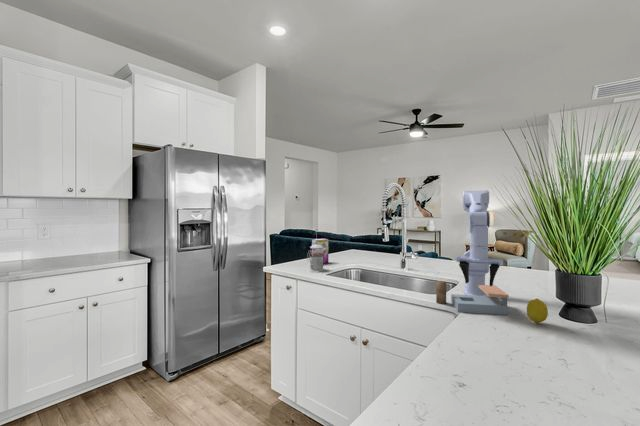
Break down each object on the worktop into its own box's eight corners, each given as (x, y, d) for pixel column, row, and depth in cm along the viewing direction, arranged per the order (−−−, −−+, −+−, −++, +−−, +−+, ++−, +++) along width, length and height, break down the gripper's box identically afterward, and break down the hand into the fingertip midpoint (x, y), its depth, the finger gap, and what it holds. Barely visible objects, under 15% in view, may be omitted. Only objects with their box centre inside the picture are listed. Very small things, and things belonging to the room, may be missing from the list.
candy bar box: (316, 265, 202) (316, 240, 202) (311, 264, 206) (311, 239, 206) (329, 263, 210) (328, 238, 209) (324, 262, 214) (324, 238, 213)
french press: (328, 269, 187) (328, 228, 186) (314, 272, 179) (313, 229, 178) (317, 267, 194) (316, 227, 193) (302, 270, 186) (302, 228, 185)
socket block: (451, 301, 122) (451, 283, 122) (495, 303, 119) (495, 285, 119) (458, 312, 109) (458, 292, 109) (508, 315, 106) (508, 294, 106)
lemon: (551, 327, 95) (551, 301, 95) (531, 326, 96) (531, 300, 96) (542, 321, 100) (542, 296, 100) (523, 319, 102) (523, 295, 101)
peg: (435, 301, 123) (435, 280, 123) (445, 301, 122) (445, 281, 122) (437, 303, 119) (437, 283, 119) (447, 304, 118) (447, 283, 118)
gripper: (454, 245, 110) (454, 283, 110) (501, 248, 101) (501, 289, 102) (459, 243, 116) (459, 279, 116) (503, 246, 107) (503, 285, 107)
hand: (478, 284), depth 109 cm, fingers open, 7 cm apart
